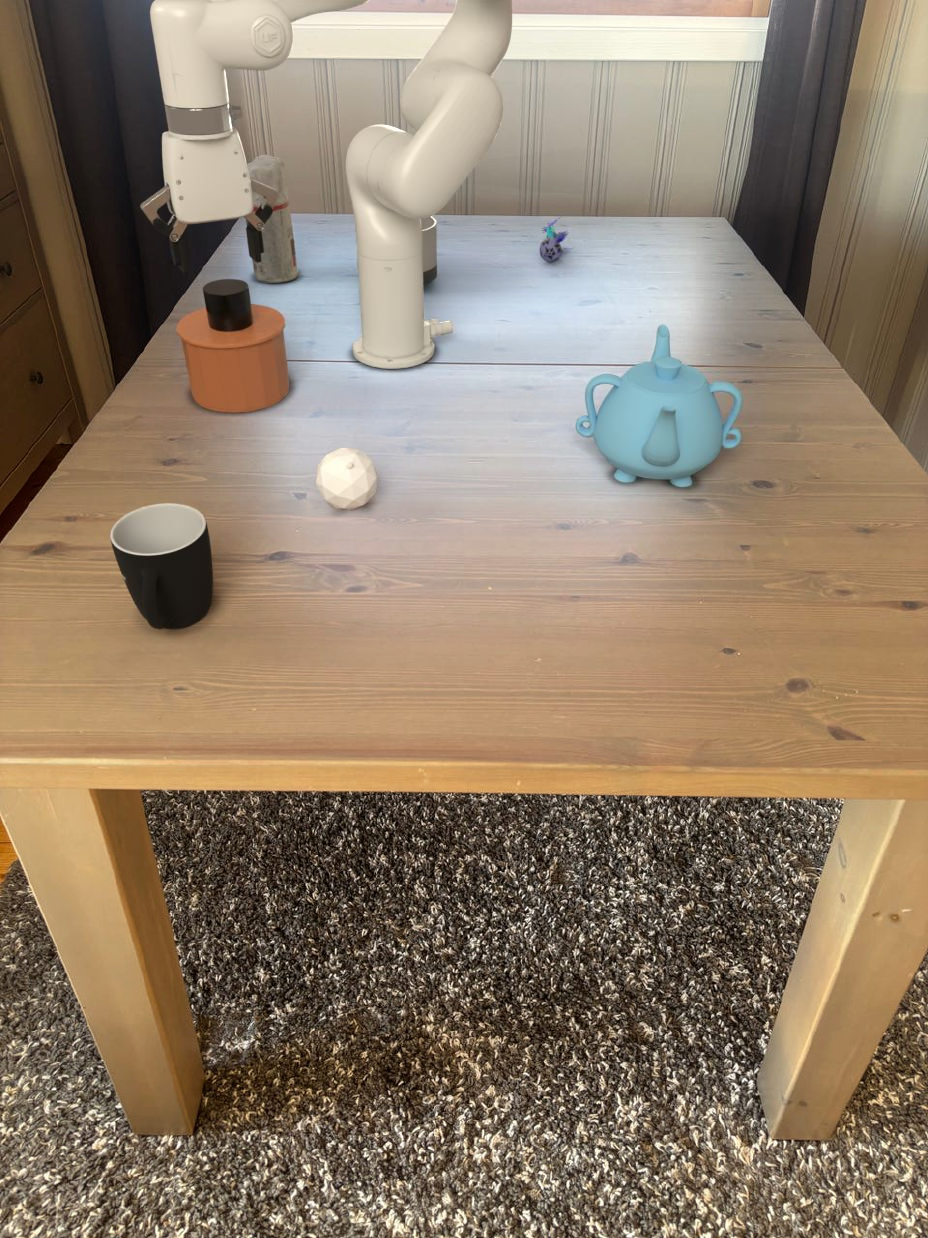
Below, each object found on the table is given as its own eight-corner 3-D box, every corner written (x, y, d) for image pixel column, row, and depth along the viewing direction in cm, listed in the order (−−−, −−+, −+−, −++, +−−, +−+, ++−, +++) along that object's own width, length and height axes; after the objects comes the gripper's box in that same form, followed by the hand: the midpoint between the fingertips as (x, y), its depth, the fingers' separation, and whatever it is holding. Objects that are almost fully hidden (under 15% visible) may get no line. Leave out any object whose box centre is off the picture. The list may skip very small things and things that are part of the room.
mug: (143, 584, 99) (122, 502, 93) (229, 583, 100) (213, 501, 93) (115, 660, 90) (89, 575, 84) (209, 658, 90) (190, 574, 84)
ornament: (387, 489, 114) (394, 463, 107) (345, 530, 112) (350, 506, 104) (344, 451, 114) (348, 422, 107) (302, 491, 112) (303, 464, 105)
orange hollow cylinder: (271, 363, 142) (263, 301, 136) (303, 400, 133) (296, 335, 127) (181, 381, 137) (169, 318, 131) (208, 420, 128) (196, 354, 122)
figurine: (536, 221, 184) (531, 243, 175) (563, 207, 181) (559, 228, 172) (551, 251, 187) (546, 274, 178) (578, 238, 185) (574, 260, 176)
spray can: (290, 286, 167) (276, 165, 154) (246, 283, 168) (229, 162, 156) (305, 270, 173) (294, 152, 161) (263, 267, 175) (248, 149, 162)
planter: (450, 279, 171) (450, 218, 164) (410, 300, 162) (408, 238, 156) (393, 265, 176) (391, 206, 169) (351, 286, 167) (347, 225, 161)
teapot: (650, 517, 110) (668, 408, 101) (553, 446, 123) (561, 344, 114) (751, 481, 117) (776, 375, 108) (649, 417, 130) (664, 318, 121)
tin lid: (265, 304, 137) (260, 261, 133) (301, 340, 127) (296, 295, 123) (165, 321, 132) (157, 278, 128) (194, 360, 122) (186, 314, 118)
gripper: (258, 108, 118) (273, 247, 129) (119, 119, 112) (146, 265, 123) (278, 119, 113) (292, 263, 124) (133, 132, 107) (161, 283, 118)
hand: (220, 264), depth 123 cm, fingers open, 9 cm apart
